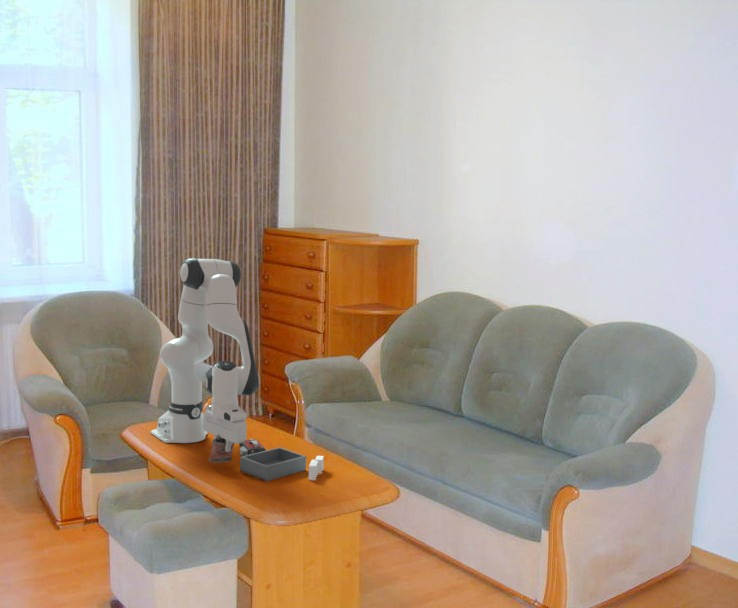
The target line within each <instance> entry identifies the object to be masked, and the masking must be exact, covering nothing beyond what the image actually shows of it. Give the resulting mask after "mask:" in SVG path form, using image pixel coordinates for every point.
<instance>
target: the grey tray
mask: <svg viewBox="0 0 738 608" xmlns="http://www.w3.org/2000/svg"><path fill="white" fill-rule="evenodd" d="M239 460H240V461H239V472H240V471H242V472H241V473H243V472H245V473H244V474H246V473H247V474H246V475H248V474H250V475H249V476H251V475H252V476H251V477H253V476H254V477H253V478H256V477H257V478H256V479H258V478H260V479H259V480H261V479H262V480H261V481H263V480H264V481H265V482H271V481H273V479H274V480H276V479H277V480H278V479H280V477H281V478H284V477H288V476H291V475H294V474H293V473H295V474H298V473H297V472H299V473H302V472H305V471H304V470H307V456H306V455H303V454H301V453H298V452H295V451H292V450H289V449H287V448H283V447H279V446H278V447H274V448H271V449H267V450H266V451H262V452H258V453H254V454H250V455H246V456H240V457H239ZM301 471H302V472H301ZM290 474H291V475H290ZM287 475H288V476H287ZM264 481H263V482H264Z"/></svg>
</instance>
